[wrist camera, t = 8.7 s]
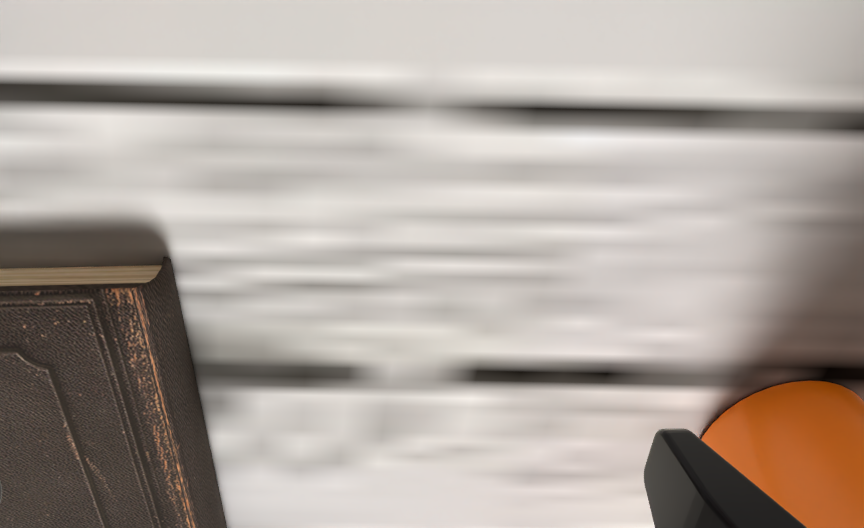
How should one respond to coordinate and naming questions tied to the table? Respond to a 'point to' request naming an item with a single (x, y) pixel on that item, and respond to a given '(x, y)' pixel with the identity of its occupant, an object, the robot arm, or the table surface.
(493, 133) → the table surface
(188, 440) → the hardcover book
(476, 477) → the table surface
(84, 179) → the table surface
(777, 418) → the shaker bottle
